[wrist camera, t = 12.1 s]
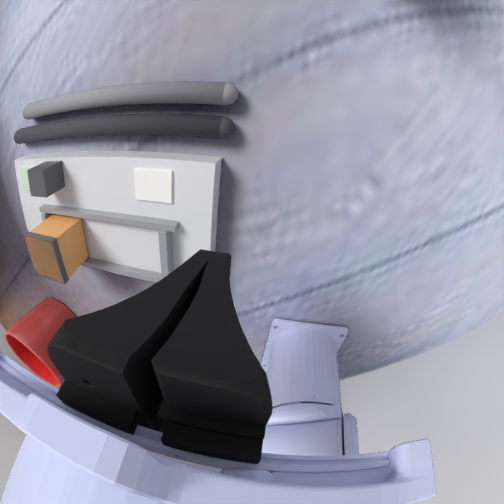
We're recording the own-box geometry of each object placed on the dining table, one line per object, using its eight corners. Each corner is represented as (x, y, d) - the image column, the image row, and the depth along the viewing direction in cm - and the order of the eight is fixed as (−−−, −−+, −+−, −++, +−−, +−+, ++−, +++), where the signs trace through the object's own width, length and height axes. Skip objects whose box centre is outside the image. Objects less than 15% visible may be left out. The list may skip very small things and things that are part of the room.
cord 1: (238, 106, 17) (234, 106, 15) (31, 118, 17) (20, 121, 16) (241, 84, 16) (237, 82, 14) (31, 103, 16) (19, 106, 15)
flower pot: (44, 320, 35) (16, 360, 27) (34, 276, 29) (-5, 320, 21) (92, 350, 36) (66, 396, 28) (88, 310, 30) (51, 364, 22)
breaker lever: (89, 257, 22) (65, 284, 19) (60, 250, 22) (36, 273, 19) (81, 217, 20) (52, 241, 17) (51, 213, 20) (23, 234, 17)
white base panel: (214, 278, 25) (201, 312, 21) (43, 242, 25) (20, 262, 22) (222, 157, 19) (204, 173, 15) (27, 154, 19) (-3, 168, 16)
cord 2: (235, 138, 18) (230, 141, 16) (22, 141, 19) (12, 146, 17) (237, 116, 17) (233, 118, 16) (21, 128, 18) (11, 131, 16)
